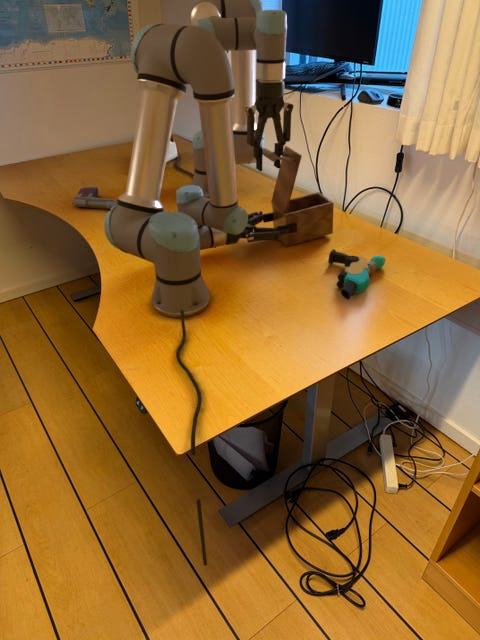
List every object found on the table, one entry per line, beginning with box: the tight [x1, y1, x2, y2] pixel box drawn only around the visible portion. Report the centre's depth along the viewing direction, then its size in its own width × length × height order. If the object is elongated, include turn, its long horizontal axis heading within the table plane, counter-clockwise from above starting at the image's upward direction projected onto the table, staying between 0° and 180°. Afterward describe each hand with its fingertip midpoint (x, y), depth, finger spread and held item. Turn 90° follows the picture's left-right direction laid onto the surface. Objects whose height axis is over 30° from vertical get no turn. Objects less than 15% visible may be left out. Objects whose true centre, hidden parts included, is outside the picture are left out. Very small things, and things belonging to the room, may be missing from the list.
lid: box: [262, 145, 303, 214], centre depth 141 cm, size 18×10×9 cm
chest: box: [271, 191, 335, 247], centre depth 153 cm, size 17×10×11 cm, turn 111°
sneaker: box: [166, 134, 178, 163], centre depth 214 cm, size 10×29×12 cm, turn 163°
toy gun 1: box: [71, 186, 118, 210], centre depth 180 cm, size 4×19×15 cm
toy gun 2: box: [328, 248, 386, 301], centre depth 133 cm, size 4×26×15 cm
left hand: (288, 221), depth 151 cm, fingers closed on chest, 9 cm apart
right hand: (268, 168), depth 139 cm, fingers open, 5 cm apart
